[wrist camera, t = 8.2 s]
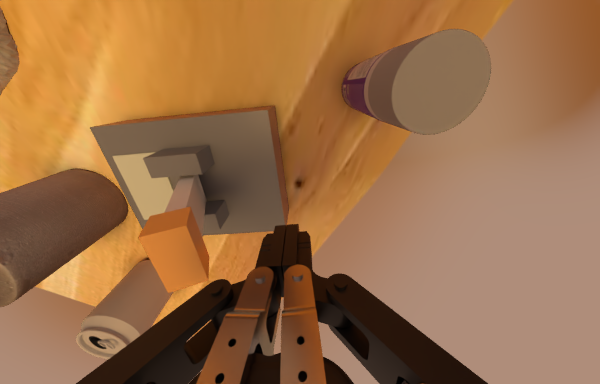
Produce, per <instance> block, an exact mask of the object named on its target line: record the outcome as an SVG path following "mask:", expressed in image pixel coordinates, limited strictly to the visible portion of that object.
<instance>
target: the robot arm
mask: <svg viewBox="0 0 600 384" xmlns="http://www.w3.org/2000/svg"><path fill="white" fill-rule="evenodd" d="M281 297H284V311H282V324H281V325H282V327H281V353H278V354H275V355H274V344H275V338H276V333H277V327H278V322H279V316H280V310H281V309H280V303H281ZM210 320H211V321H210ZM208 321H210V322H209V323H208V324H207V325H206V326H205V327H203V326H204V325H205V324H206V323H207V322H208ZM318 322H321V323H325V324H328V325H329V327H330V329H331V330H332V331H333V333H334V334H335V335H336V336H337V337H338V338H339V339H340V340H341V341H342V343H343V344H344V345H345V346H346V347H347V348H348V349H349V350H350V351H351V352H352V354H353V355H354V356H355V357H356V358H357V359H358V360H359V361H360V362H361V363H362V365H363V366H364V367H365V368H366V369H367V370H368V371H369V372H370V373H371V375H372V376H373V377H374V378H375V379H376V380H377V381H378V382H379V383H380V384H488V383H487V382H485V381H484V380H483V379H481V378H480V377H479V376H477V375H476V374H475V373H473V372H472V371H471V370H470V369H468V368H467V367H466V366H464V365H463V364H462V363H461V362H459V361H458V360H456V359H455V358H454V357H453V356H452V355H450V354H449V353H448V352H446V351H445V350H444V349H443V348H441V347H440V346H438V345H437V344H436V343H435V342H433V341H432V340H431V339H430V338H428V337H427V336H426V335H424V334H423V333H422V332H420V331H419V330H418V329H417V328H415V327H414V326H413V325H411V324H410V323H409V322H408V321H406V320H405V319H404V318H402V317H401V316H400V315H399V314H397V313H396V312H394V311H393V310H392V309H391V308H389V307H388V306H387V305H386V304H384V303H383V302H382V301H380V300H379V299H378V298H377V297H375V296H374V295H373V294H371V293H370V292H369V291H367V290H366V289H365V288H364V287H362V286H361V285H360V284H358V283H357V282H356V281H354V280H353V279H352V278H350V277H349V276H347V275H345V274H334V275H332V276H330V277H329V278H328V279H327V278H323V277H320V276H318V275H316V274H315V273H314V272H313V270H312V253H311V242H310V236H309V234H308V233H307V231H304V232H299V225H298V224H292V225H277V226H275V229H274V233H273V234H267V235H266V236H265V237H264V239H263V241H262V245H261V248H260V252H259V256H258V259H257V263H256V267H255V269H254V270H252V271H251V272H250V273H249V274H248V276H247V279H246V280H244V281H241V282H238V283H235V284H232V285H231V284H230V282H229V281H227V280H225V279H220V280H216V281H213V282H211V283H210V284H209V285H207V286H206V287H205V288H203V289H202V290H201V291H199V292H198V293H197V294H195V295H194V296H193V297H191V298H190V299H189V300H187V301H186V302H184V303H183V304H182V305H180V306H179V307H178V308H176V309H175V310H174V311H172V312H171V313H170V314H168V315H167V316H166V317H164V318H163V319H162V320H160V321H159V322H158V323H156V324H155V325H154V326H152V327H151V328H150V329H148V330H147V331H146V332H144V333H143V334H142V335H140V336H139V337H138V338H136V339H135V340H134V341H132V342H131V343H130V344H128V345H127V346H126V347H124V348H123V349H122V350H120V351H119V352H118V353H116V354H115V355H114V356H112V357H111V358H110V359H108V360H107V361H106V362H104V363H103V364H102V365H100V366H99V367H98V368H96V369H95V370H94V371H92V372H91V373H90V374H88V375H87V376H86V377H84V378H83V379H82V380H80V381H79V382H78V383H76V384H188V383H189V382H190V381H191V380H192V379H193V378H194V379H193V380H192V381H191V382H190V383H189V384H354V383H353V382H352V381H351V379H350V378H349V377H348V375H347V374H346V373H345V372H344V371H343V370H342V369H341V368H340V367H339V366H338V365H336V364H335V363H334V362H332V361H331V360H329V359H327V358H325V357H323V356H322V348H321V340H320V333H319V326H318ZM202 327H203V328H202ZM200 328H202V329H201V330H200V331H199V332H198V333H197V334H195V333H196V332H197V331H198V330H199V329H200ZM194 334H195V335H194ZM192 335H194V336H193V337H192V338H191V339H190V340H189V341H188V342H187V340H188V339H189V338H190V337H191V336H192ZM201 370H202V371H201ZM200 371H201V372H200ZM199 372H200V373H199ZM198 373H199V374H198ZM197 374H198V375H197ZM196 375H197V376H196Z"/></svg>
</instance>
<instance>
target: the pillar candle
mask: <svg viewBox="0 0 600 384" xmlns="http://www.w3.org/2000/svg"><path fill="white" fill-rule="evenodd" d="M127 208H128V207H127V202H126V200H125V198H124V196H123V194H122V192H121V191H120V190H119V189H118V188H117V187H116V186H115V185H114V184H113V183H112V182H111V181H110V180H108V179H107V178H106V177H104V176H102V175H100V174H97V173H94V172H90V171H86V170H81V169H71V170H67V171H63V172H59V173H57V174H54V175H51V176H48V177H46V178H43V179H40V180H37V181H34V182H31V183H28V184H25V185H22V186H20V187H17V188H14V189H11V190H8V191H5V192H2V193H0V307H3V306H6V305H9V304H11V303H12V302H14V301H15V300H17V299H18V298H19V297H21V296H22V295H23V294H25V293H26V292H27V291H29V290H30V289H32V288H33V287H34V286H36V285H37V284H39V283H40V282H41V281H43V280H44V279H45V278H47V277H48V276H49V275H51V274H52V273H54V272H55V271H56V270H58V269H59V268H60V267H62V266H63V265H64V264H66V263H67V262H69V261H70V260H71V259H73V258H74V257H75V256H77V255H78V254H80V253H81V252H82V251H84V250H85V249H86V248H88V247H89V246H90V245H92V244H93V243H95V242H96V241H97V240H99V239H100V238H101V237H103V236H104V235H106V234H107V233H108V232H110V231H111V230H112V229H114V228H115V227H116V226H118V225H119V224H120V223H122V222H123V221H124V219H125V218H126V216H127V212H128V209H127Z"/></svg>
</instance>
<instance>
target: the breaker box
mask: <svg viewBox="0 0 600 384" xmlns="http://www.w3.org/2000/svg"><path fill="white" fill-rule="evenodd" d="M90 129H91V131H92V133H93V135H94V137H95V139H96V140H97V142H98V144H99V146H100V148H101V150H102V152H103V154H104V156H105V158H106V160H107V162H108V164H109V165H110V167H111V169H112V171H113V173H114V175H115V177H116V179H117V181H118V183H119V185H120V187H121V189H122V190H123V192H124V194H125V196H126V198H127V200H128V202H129V204H130V206H131V208H132V210H133V212H134V214H135V215H136V217H137V219H138V221H139V223H140V225H141V227H142V229H143V228H144V226H145V224H146V222H147V221H148V219H149V217H150V216H152V215H156V214H161V213H164V212H165V210H166V207H167V205H168V203H169V201H170V198H171V196H172V194H173V192H174V189H175V187H176V185H177V183H178V180H179V178H180V176H187V175H198V176H199V179H200V182H201V185H202V188H203V191H204V194H205V197H206V200H207V202H206V205H205V215H204V226H203V235H218V234H234V233H250V232H266V231H274V229H275V226H277V225H287V219H288V212H289V207H288V200H287V192H286V185H285V178H284V170H283V163H282V156H281V148H280V141H279V134H278V126H277V119H276V112H275V106H265V107H255V108H245V109H235V110H225V111H215V112H205V113H195V114H185V115H175V116H165V117H155V118H145V119H135V120H126V121H121V122H116V123H110V124H105V125H100V126H94V127H90Z"/></svg>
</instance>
